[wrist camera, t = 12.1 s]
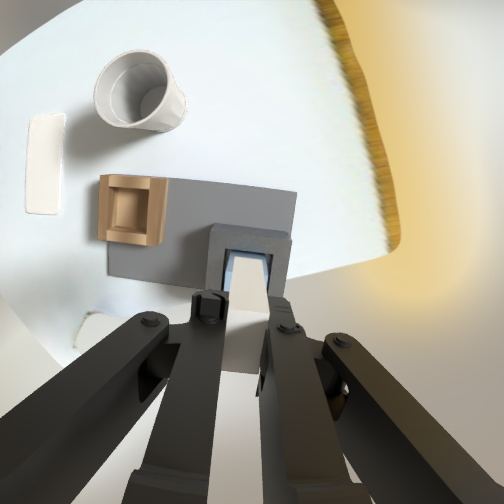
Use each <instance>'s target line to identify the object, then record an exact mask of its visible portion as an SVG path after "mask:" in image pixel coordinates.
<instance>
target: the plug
mask: <svg viewBox="0 0 504 504" xmlns="http://www.w3.org/2000/svg"><path fill="white" fill-rule="evenodd" d="M235 257H243V258H250V259H258V260H262V264H263V271H264V277H265V284H266V288H267V281H268V271H267V264H266V257H265V253H258V252H250V251H242V250H234V249H231V253H230V257H229V261H228V264H227V268H226V274H225V284H224V291H228V292H230V285H231V278H232V271H233V264H234V258H235Z"/></svg>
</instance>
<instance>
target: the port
mask: <svg viewBox="0 0 504 504" xmlns="http://www.w3.org/2000/svg"><path fill="white" fill-rule="evenodd" d="M291 245H292V239H291V237H290V236H289V234H288V232H286V231H278V230H270V229H262V228H254V227H246V226H238V225H229V224H221V223H215V224H214V226H213V227H212V229H211V230H210V239H209V249H208V261H207V272H206V284H205V291H206V290H208V289H213V290H220V291H224V284H225V274H226V268H227V264H228V261H229V257H230V253H231V249H234V250H242V251H250V252H258V253H265V257H266V264H267V271H268V281H267V288H266V291H267V296H275V297H283V293H284V287H285V282H286V276H287V270H288V264H289V258H290V251H291Z"/></svg>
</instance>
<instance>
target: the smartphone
mask: <svg viewBox="0 0 504 504" xmlns="http://www.w3.org/2000/svg"><path fill="white" fill-rule="evenodd" d="M64 127H65V115H64V114H62V113H59V114H51V115H44V116H37V117H33V118H32V119H31V121H30V126H29V135H28V146H27V160H26V183H25V208H26V211H27V212H28V213H33V214H51V215H55V214H58V213H59V212H60V194H61V163H62V148H63V137H64Z"/></svg>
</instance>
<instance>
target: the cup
mask: <svg viewBox="0 0 504 504" xmlns="http://www.w3.org/2000/svg"><path fill="white" fill-rule="evenodd" d="M94 105H95V108H96V111H97V113H98V114H99V116H100V117H101V118H102V119H103V120H104V121H105V122H107V123H108V124H110V125H112V126H115V127H121V128H139V129H147V130H153V131H156V132H167V131H171V130H173V129H175V128H176V127H178V126H179V125H180V124H181V123H182V122H183V120H184V119H185V117H186V114H187V111H188V102H187V99H186V96H185V95H184V93H183V92H182V91H181V90H180V88H179V87H178V85H177V83H176V81H175V80H174V77H173V75H172V73H171V71H170V69H169V67H168V65H167V64H166V62H165V61H164V60H163V58H161V57H160V56H159V55H158V54H156V53H154V52H152V51H148V50H131V51H128V52H125V53H123V54H120V55H119V56H117V57H115V58H114V59H113V60H111V61H110V62H109V63H108V64H107V65H106V66H105V67H104V69H103V70H102V71H101V73H100V75H99V77H98V79H97V81H96V84H95V88H94Z"/></svg>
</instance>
